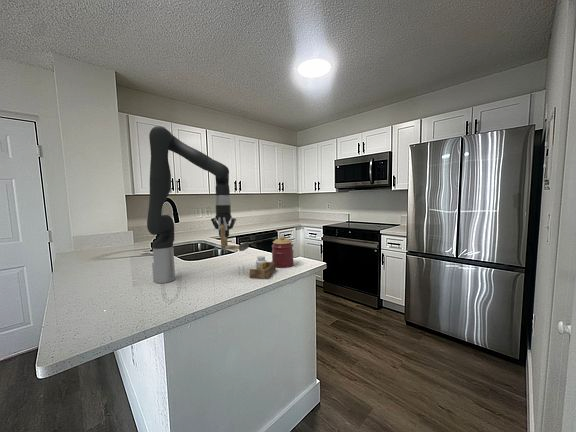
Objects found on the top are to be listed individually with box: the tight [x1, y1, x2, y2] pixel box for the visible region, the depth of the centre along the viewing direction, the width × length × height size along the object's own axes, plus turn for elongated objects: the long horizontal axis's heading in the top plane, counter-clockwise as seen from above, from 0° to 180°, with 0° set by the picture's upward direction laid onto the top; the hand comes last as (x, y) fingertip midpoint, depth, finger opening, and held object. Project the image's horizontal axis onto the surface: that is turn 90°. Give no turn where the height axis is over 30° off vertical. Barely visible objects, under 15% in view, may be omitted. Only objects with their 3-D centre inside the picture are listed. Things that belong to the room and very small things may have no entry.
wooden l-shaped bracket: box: [220, 224, 250, 252], centre depth 128 cm, size 13×8×13 cm, turn 78°
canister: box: [271, 235, 294, 269], centre depth 147 cm, size 13×13×18 cm
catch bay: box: [249, 261, 277, 280], centre depth 131 cm, size 10×15×4 cm, turn 167°
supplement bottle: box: [255, 255, 267, 269], centre depth 131 cm, size 5×5×10 cm
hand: (224, 236), depth 129 cm, fingers closed on wooden l-shaped bracket, 2 cm apart
